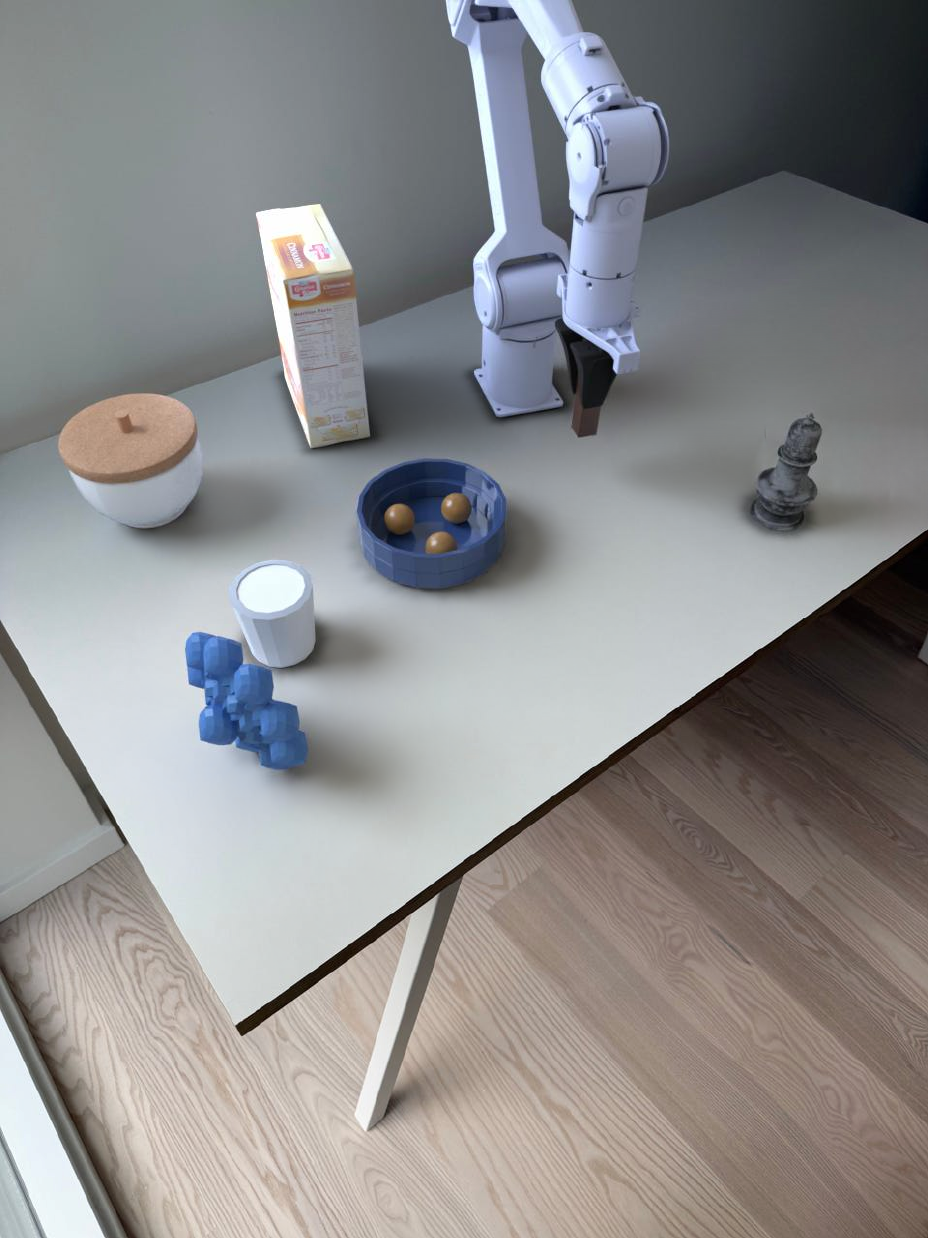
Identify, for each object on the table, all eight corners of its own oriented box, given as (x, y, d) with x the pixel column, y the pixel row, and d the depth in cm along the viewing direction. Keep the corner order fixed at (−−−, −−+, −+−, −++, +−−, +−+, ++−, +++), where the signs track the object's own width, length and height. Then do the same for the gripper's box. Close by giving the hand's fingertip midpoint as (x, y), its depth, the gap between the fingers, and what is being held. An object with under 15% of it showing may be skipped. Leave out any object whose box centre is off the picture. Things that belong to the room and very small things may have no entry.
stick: (570, 426, 90) (582, 336, 83) (589, 423, 90) (602, 334, 83) (578, 438, 89) (590, 348, 81) (596, 434, 89) (611, 345, 82)
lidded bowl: (238, 480, 93) (215, 389, 85) (173, 560, 85) (142, 468, 77) (133, 455, 96) (102, 365, 88) (62, 530, 88) (20, 439, 80)
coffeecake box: (283, 376, 106) (254, 210, 91) (341, 365, 107) (322, 201, 93) (308, 450, 96) (280, 279, 82) (372, 437, 98) (355, 267, 83)
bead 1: (381, 523, 88) (379, 500, 86) (411, 518, 88) (410, 494, 86) (388, 543, 86) (386, 520, 84) (418, 537, 86) (417, 514, 84)
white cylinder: (246, 616, 80) (231, 560, 75) (323, 611, 81) (313, 555, 76) (240, 676, 76) (224, 621, 71) (321, 670, 76) (311, 615, 71)
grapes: (169, 743, 71) (126, 647, 62) (233, 690, 75) (201, 592, 66) (268, 825, 66) (237, 734, 57) (332, 765, 70) (312, 670, 61)
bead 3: (422, 551, 85) (421, 528, 83) (452, 545, 86) (452, 522, 84) (430, 573, 83) (429, 549, 81) (461, 566, 84) (461, 543, 82)
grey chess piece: (809, 536, 87) (848, 436, 78) (747, 529, 88) (779, 428, 79) (805, 498, 91) (842, 398, 82) (746, 491, 92) (776, 391, 83)
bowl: (348, 507, 90) (343, 472, 87) (480, 482, 93) (481, 447, 89) (378, 605, 81) (374, 570, 78) (524, 574, 84) (526, 539, 80)
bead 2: (437, 512, 89) (437, 489, 87) (466, 507, 89) (466, 484, 87) (445, 532, 87) (445, 509, 85) (475, 526, 88) (475, 503, 85)
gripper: (683, 297, 73) (656, 434, 83) (612, 220, 82) (596, 352, 92) (603, 310, 71) (585, 447, 81) (540, 231, 81) (531, 363, 91)
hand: (586, 398), depth 87 cm, fingers closed on stick, 2 cm apart
